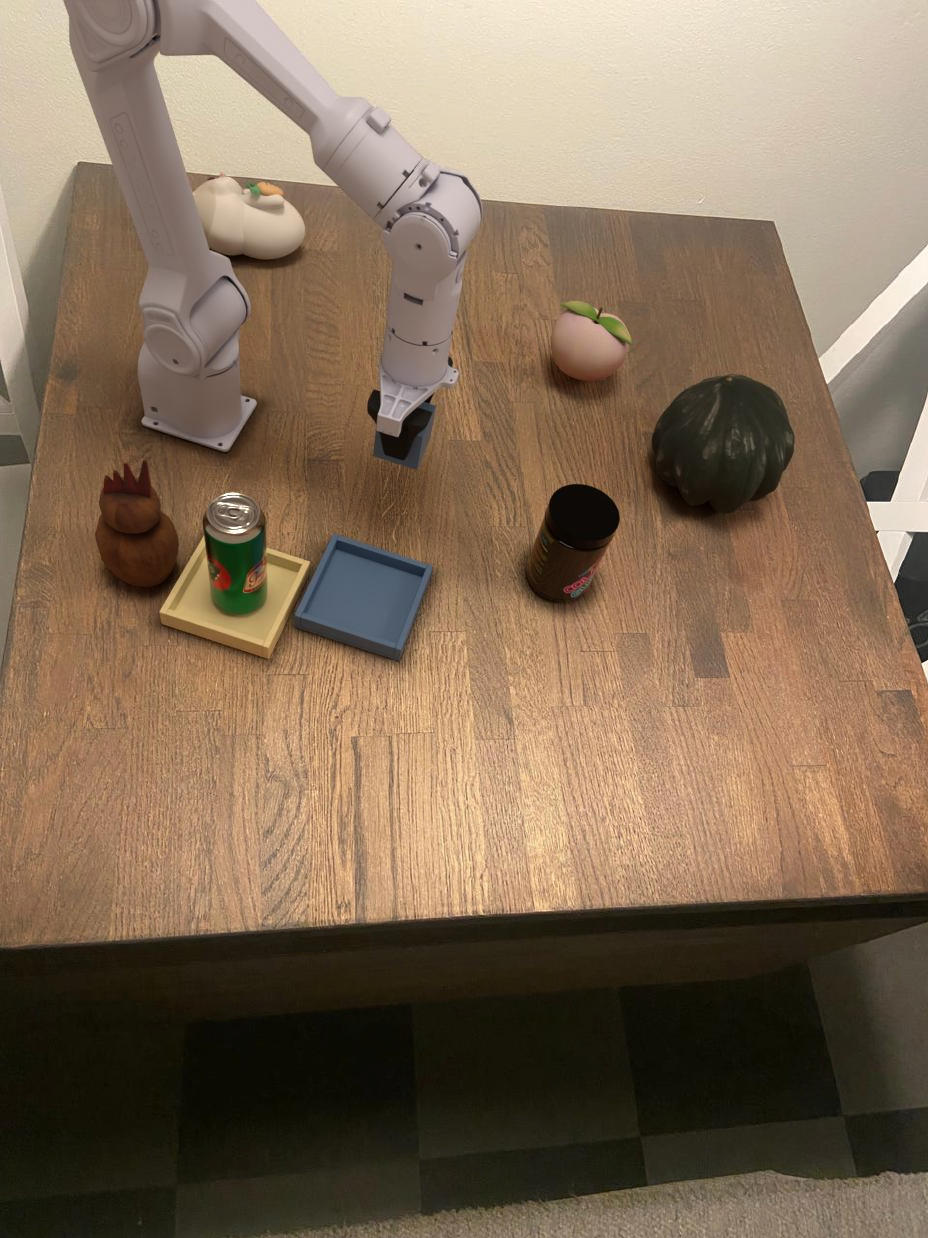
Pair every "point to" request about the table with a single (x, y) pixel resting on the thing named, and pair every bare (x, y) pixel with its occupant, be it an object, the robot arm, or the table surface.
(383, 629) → the blue tray
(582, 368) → the decorative fruit
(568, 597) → the supplement container
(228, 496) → the soda can
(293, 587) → the cream tray
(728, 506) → the squash
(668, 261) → the table surface
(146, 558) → the wooden figurine
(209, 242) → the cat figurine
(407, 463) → the blue block
